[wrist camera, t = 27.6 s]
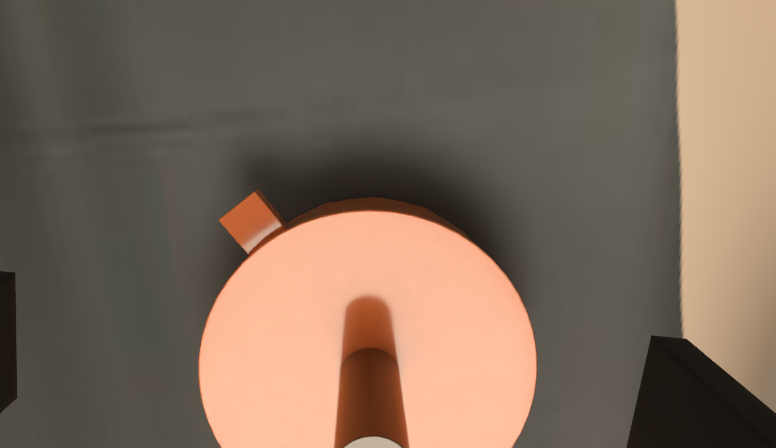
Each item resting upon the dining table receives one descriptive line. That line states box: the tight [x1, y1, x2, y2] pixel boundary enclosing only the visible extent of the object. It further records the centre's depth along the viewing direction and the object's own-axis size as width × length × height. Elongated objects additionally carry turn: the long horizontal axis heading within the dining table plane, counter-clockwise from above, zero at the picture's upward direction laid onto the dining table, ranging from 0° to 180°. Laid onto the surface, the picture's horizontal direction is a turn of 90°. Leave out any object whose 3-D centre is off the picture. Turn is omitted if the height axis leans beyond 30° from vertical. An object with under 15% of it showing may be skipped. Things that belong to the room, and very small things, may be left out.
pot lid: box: [199, 208, 537, 448], centre depth 30 cm, size 18×18×10 cm
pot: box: [219, 189, 471, 255], centre depth 37 cm, size 17×22×5 cm
